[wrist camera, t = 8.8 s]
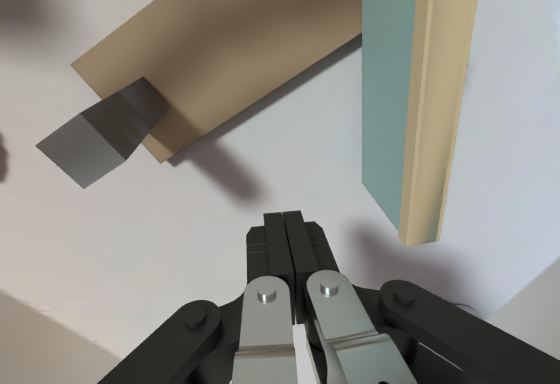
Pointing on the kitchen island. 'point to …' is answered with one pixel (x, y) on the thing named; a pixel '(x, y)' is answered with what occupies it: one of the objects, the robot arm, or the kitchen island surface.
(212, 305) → the robot arm
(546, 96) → the kitchen island surface
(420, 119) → the gate panel
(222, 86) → the gate frame
